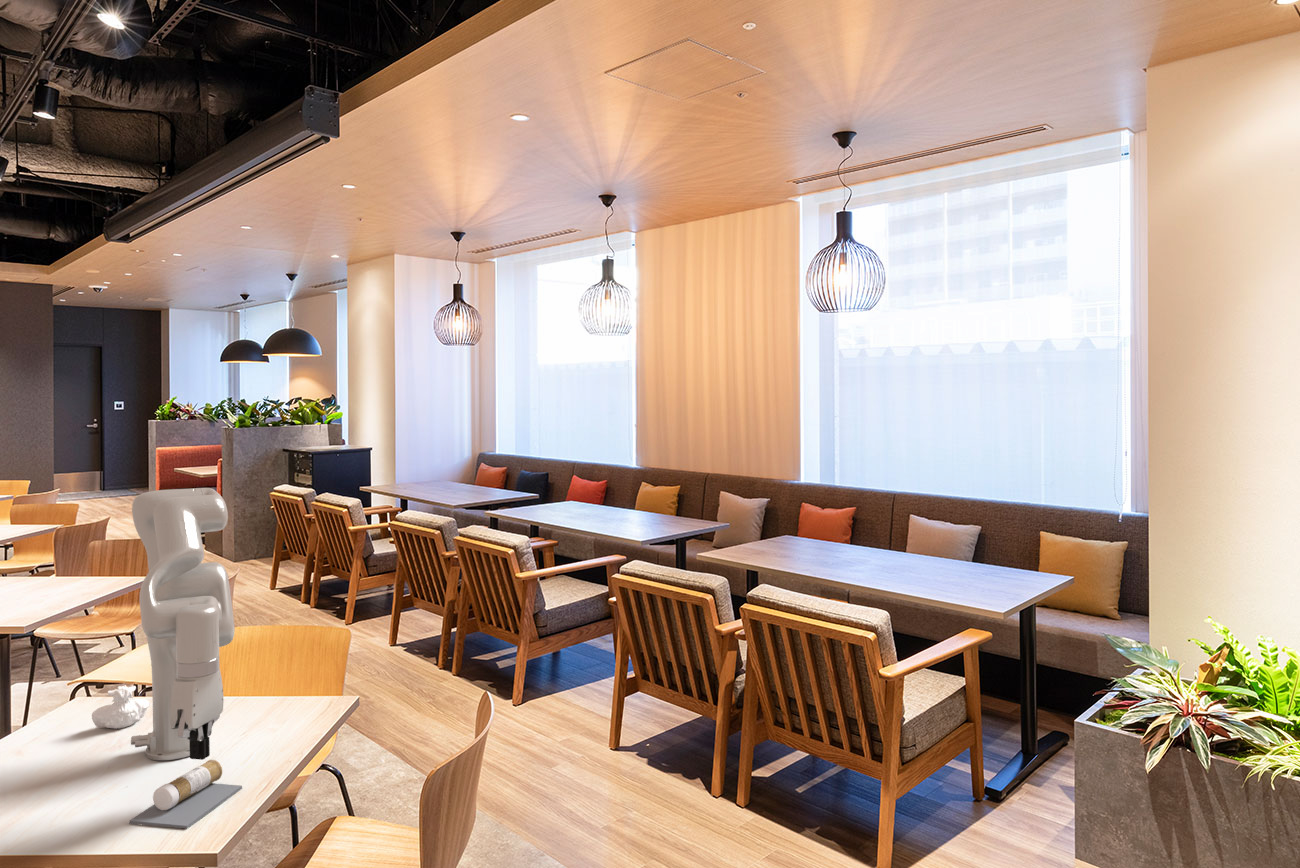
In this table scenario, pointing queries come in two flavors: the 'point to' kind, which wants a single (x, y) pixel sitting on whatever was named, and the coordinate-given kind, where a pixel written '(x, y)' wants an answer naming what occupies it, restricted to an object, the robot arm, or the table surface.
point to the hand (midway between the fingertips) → (199, 757)
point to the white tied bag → (120, 709)
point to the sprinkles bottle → (187, 785)
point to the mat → (188, 807)
